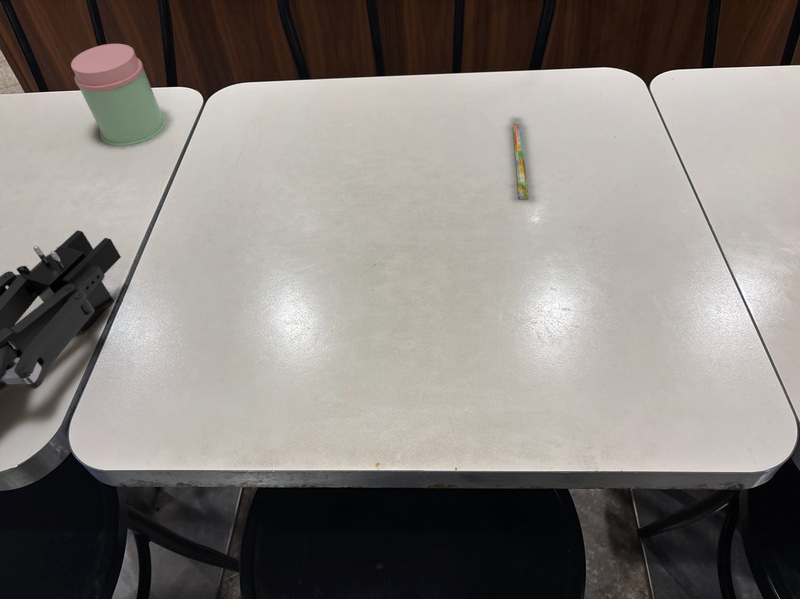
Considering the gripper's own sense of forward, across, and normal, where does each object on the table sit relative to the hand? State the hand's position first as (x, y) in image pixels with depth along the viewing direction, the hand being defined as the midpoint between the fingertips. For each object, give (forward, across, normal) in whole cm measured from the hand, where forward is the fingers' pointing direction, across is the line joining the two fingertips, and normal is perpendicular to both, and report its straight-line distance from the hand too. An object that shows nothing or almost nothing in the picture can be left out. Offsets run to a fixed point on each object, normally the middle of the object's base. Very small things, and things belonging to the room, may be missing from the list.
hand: (98, 244), depth 65 cm
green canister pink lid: (+28, -20, -6) cm, 35 cm away
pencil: (+37, +38, -6) cm, 54 cm away
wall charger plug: (-5, 0, -6) cm, 8 cm away
